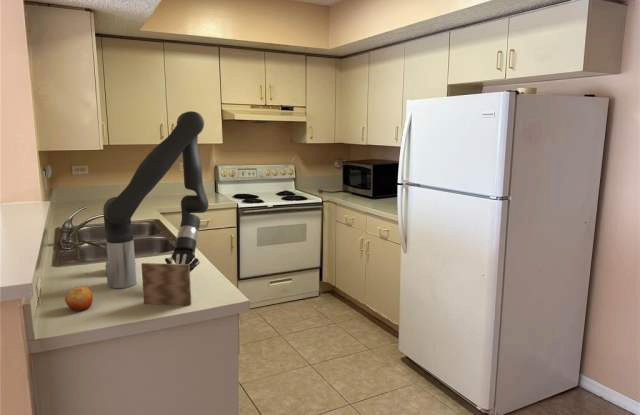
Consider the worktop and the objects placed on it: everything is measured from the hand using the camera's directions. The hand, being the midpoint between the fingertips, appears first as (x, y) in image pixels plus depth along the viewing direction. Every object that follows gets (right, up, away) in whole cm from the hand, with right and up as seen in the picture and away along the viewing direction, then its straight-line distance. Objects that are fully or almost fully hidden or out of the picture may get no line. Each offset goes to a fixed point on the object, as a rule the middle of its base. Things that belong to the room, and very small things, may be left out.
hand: (177, 283), depth 160 cm
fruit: (-28, -6, -12) cm, 31 cm away
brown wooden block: (-1, -5, -5) cm, 8 cm away
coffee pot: (-36, 0, +24) cm, 43 cm away
